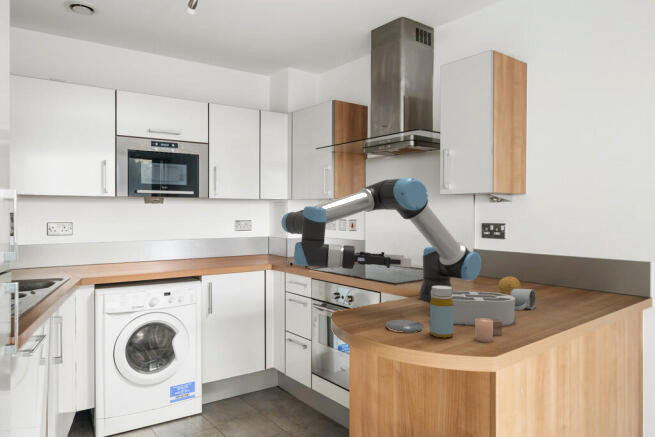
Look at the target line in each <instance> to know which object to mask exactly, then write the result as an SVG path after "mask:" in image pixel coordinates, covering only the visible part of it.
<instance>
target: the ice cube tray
mask: <svg viewBox="0 0 655 437" xmlns="http://www.w3.org/2000/svg"><path fill="white" fill-rule="evenodd" d="M431 298H432V290H431ZM452 300H453V304H454V316H453V325H462V324H465V325H467V326H475V319H476V318H496V319H498V320H500V321H502V327H503V326H505V325H506V326H510V325H512V324H514V320H515V310H514V304H515V298H514V297H513V296H510V295H506V294H501V292H489V291H462V290H453V291H452ZM465 325H464V326H465Z"/></svg>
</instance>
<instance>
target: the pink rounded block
mask: <svg viewBox="0 0 655 437" xmlns="http://www.w3.org/2000/svg"><path fill="white" fill-rule="evenodd" d="M493 337H494V336H493V320H492V319H488V318H476V319H475V325H474V340H475V341H477V342H481V343H492V342H493V341H494V338H493Z"/></svg>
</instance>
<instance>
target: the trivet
mask: <svg viewBox="0 0 655 437" xmlns="http://www.w3.org/2000/svg"><path fill="white" fill-rule="evenodd" d="M386 326H387V327H388V328H390V329H393V330H397V331H403V332H415V331H420V330H422V329H423V330H424V324H422V323H421V322H419V321H416V320H411V319H393V320H388V321H386V322H385V327H386ZM423 330H422V331H423ZM420 332H421V331H420Z"/></svg>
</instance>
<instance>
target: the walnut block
mask: <svg viewBox="0 0 655 437" xmlns="http://www.w3.org/2000/svg"><path fill="white" fill-rule="evenodd" d="M488 319H492V320H493V337H494V336H502V335H503V328H502V327H503V326H502V321H500V320H498V319H496V318H488Z"/></svg>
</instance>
